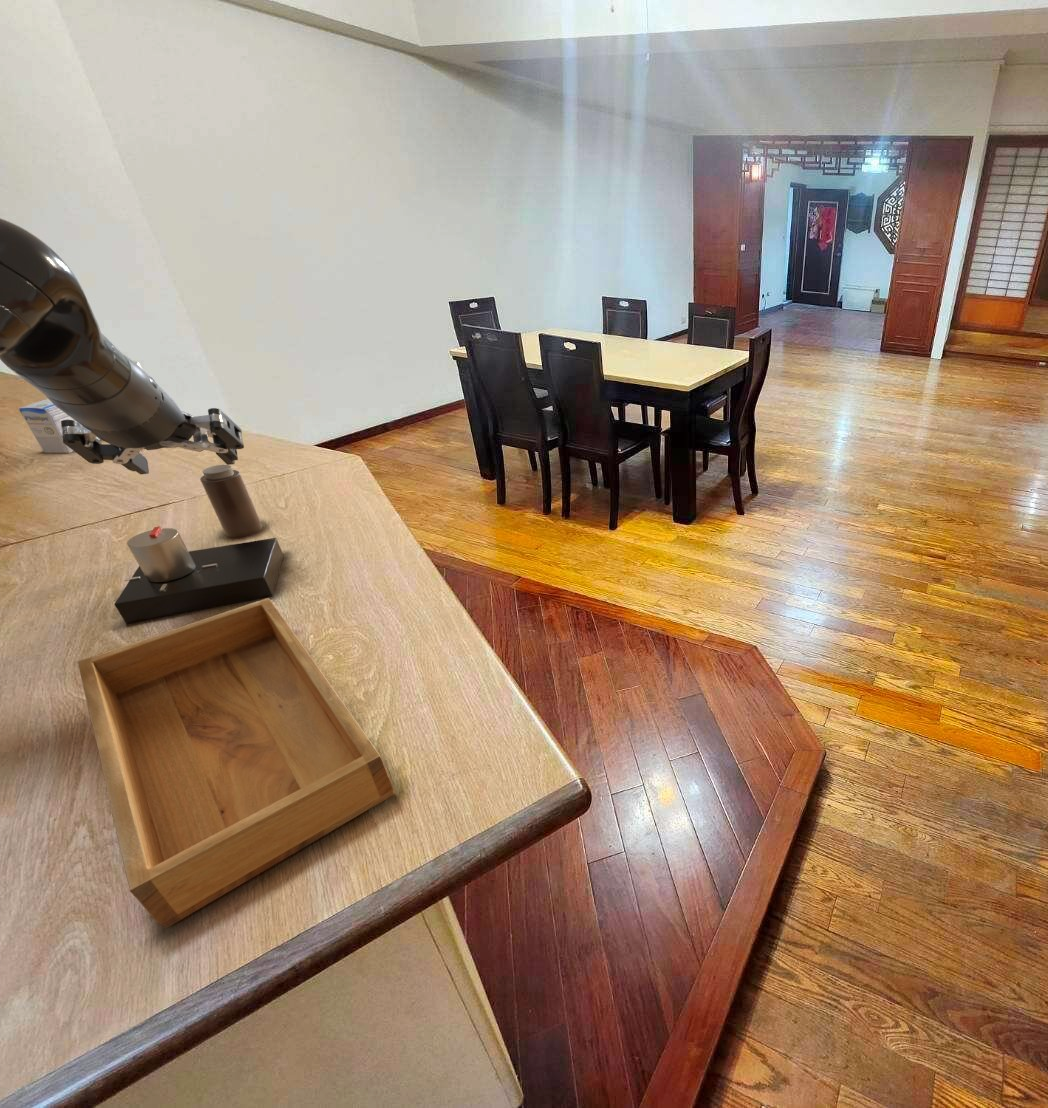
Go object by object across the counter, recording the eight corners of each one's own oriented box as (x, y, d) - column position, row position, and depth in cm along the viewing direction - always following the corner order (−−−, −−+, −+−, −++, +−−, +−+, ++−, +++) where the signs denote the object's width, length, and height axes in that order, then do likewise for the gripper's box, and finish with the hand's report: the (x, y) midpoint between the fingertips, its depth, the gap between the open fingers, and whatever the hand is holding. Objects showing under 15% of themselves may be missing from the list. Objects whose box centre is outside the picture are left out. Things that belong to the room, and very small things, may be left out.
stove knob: (190, 577, 72) (171, 539, 69) (141, 586, 70) (119, 547, 67) (199, 559, 75) (181, 523, 72) (153, 567, 73) (132, 530, 71)
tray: (397, 796, 50) (379, 751, 47) (166, 934, 40) (125, 887, 37) (287, 636, 68) (269, 596, 65) (107, 705, 58) (76, 661, 55)
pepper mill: (223, 540, 85) (193, 477, 80) (229, 527, 88) (200, 465, 83) (260, 534, 87) (233, 472, 82) (264, 522, 90) (239, 461, 85)
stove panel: (122, 626, 68) (108, 603, 66) (150, 578, 76) (138, 557, 75) (272, 596, 74) (263, 575, 72) (284, 555, 82) (275, 536, 81)
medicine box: (79, 439, 116) (55, 395, 112) (104, 439, 117) (81, 395, 112) (43, 453, 109) (16, 407, 105) (70, 453, 110) (44, 408, 105)
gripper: (17, 438, 56) (118, 499, 71) (204, 421, 62) (262, 481, 77) (10, 368, 57) (111, 442, 72) (195, 359, 63) (253, 429, 78)
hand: (189, 462), depth 74 cm, fingers open, 8 cm apart
